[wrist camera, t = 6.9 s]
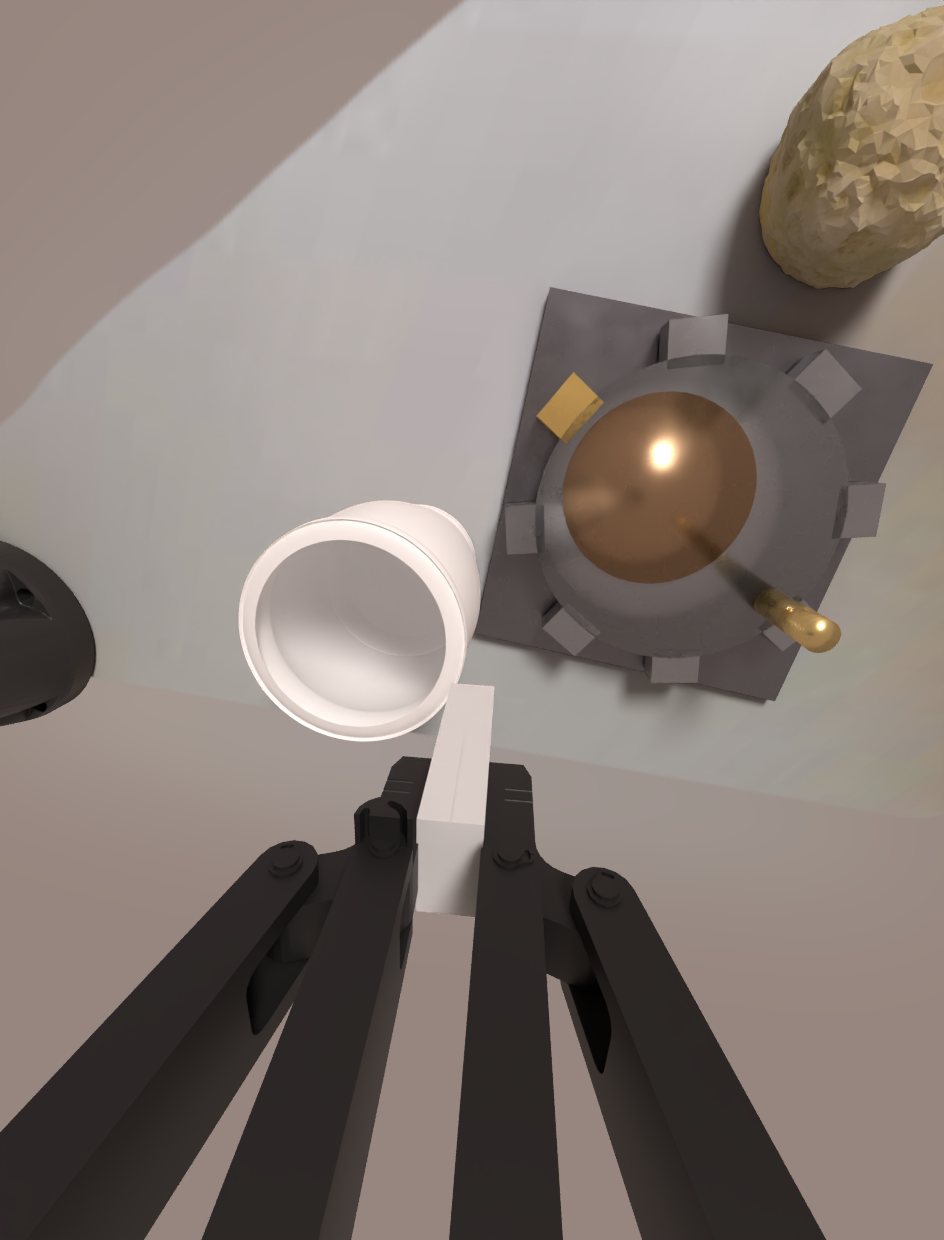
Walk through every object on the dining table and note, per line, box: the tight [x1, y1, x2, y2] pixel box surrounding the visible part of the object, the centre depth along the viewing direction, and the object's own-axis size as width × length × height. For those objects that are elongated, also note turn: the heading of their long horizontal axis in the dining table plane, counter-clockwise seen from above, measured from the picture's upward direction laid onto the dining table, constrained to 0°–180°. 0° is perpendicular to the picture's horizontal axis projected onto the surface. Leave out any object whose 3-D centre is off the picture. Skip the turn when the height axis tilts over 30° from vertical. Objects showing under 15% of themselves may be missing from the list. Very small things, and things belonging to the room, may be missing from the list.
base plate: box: [475, 287, 933, 701], centre depth 32 cm, size 22×22×1 cm
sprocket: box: [505, 314, 886, 683], centre depth 28 cm, size 22×22×8 cm
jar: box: [239, 501, 481, 742], centre depth 29 cm, size 11×10×15 cm
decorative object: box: [759, 5, 944, 289], centre depth 24 cm, size 9×10×10 cm
